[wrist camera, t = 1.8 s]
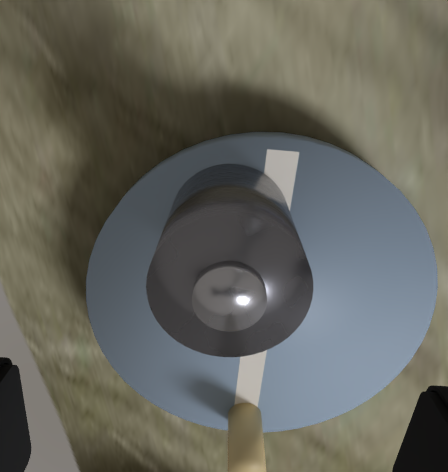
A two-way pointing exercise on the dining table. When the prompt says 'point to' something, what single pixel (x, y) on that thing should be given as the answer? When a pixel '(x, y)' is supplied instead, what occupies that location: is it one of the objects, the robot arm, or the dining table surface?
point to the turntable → (321, 309)
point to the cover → (229, 265)
